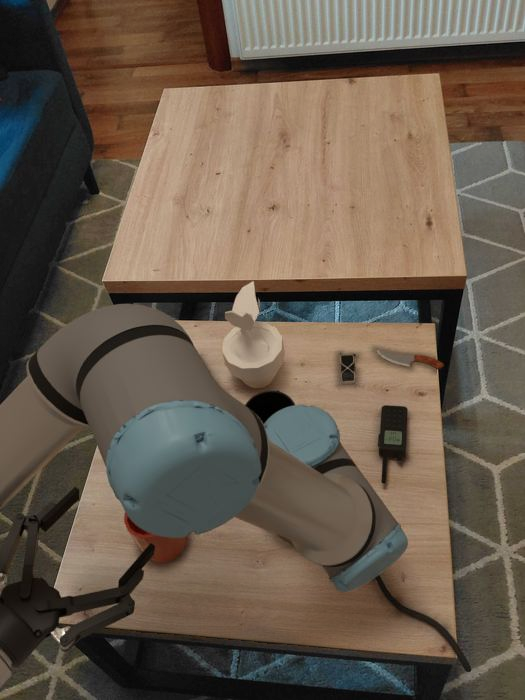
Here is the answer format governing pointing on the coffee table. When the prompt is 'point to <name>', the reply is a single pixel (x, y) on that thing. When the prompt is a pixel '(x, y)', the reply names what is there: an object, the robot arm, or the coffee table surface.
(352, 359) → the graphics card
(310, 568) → the coffee table surface
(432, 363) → the knife
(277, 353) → the potted plant
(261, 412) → the mug
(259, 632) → the coffee table surface
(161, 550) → the red cup
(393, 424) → the walkie-talkie
